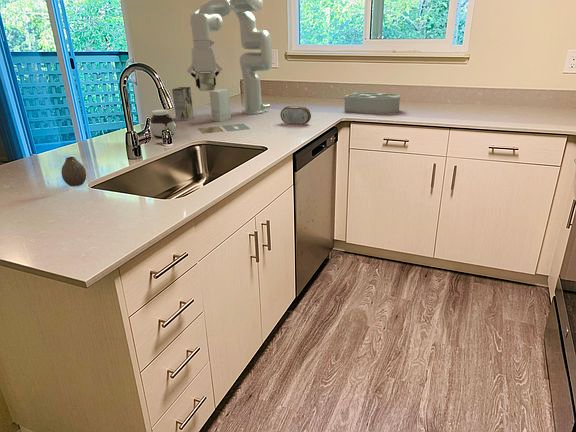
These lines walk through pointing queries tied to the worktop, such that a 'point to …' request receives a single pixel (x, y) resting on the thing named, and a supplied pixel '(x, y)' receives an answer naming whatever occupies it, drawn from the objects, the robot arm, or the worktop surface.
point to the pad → (210, 130)
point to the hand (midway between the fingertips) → (206, 87)
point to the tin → (295, 115)
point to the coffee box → (183, 103)
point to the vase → (73, 172)
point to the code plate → (235, 127)
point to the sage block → (206, 81)
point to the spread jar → (161, 123)
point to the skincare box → (220, 104)
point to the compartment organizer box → (372, 103)
